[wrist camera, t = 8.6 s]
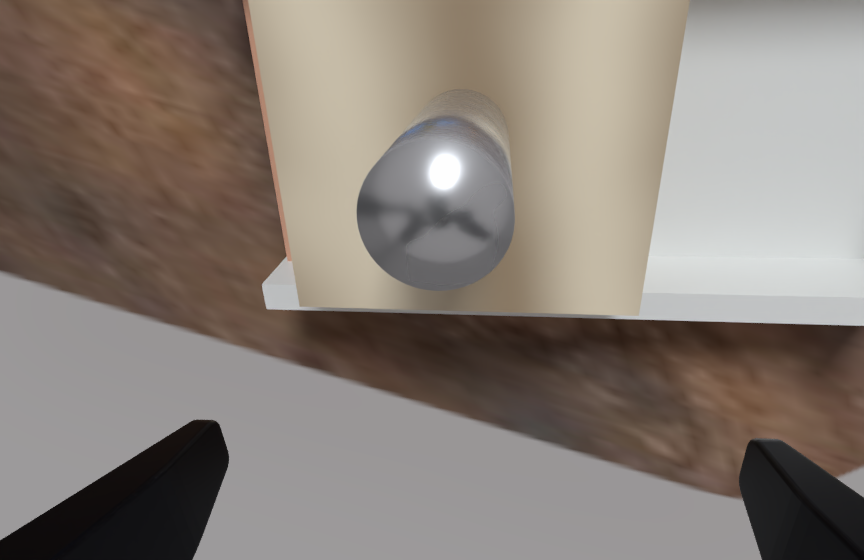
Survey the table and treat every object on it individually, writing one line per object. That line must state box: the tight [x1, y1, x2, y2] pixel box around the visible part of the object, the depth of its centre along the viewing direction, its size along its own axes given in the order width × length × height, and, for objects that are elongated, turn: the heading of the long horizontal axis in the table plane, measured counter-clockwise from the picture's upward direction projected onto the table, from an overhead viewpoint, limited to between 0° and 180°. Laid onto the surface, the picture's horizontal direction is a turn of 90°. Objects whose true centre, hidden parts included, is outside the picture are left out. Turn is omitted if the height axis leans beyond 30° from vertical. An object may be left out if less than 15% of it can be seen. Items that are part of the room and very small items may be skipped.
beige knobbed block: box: [248, 0, 690, 316], centre depth 13 cm, size 10×10×11 cm
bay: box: [243, 0, 864, 326], centre depth 15 cm, size 23×14×6 cm, turn 92°
